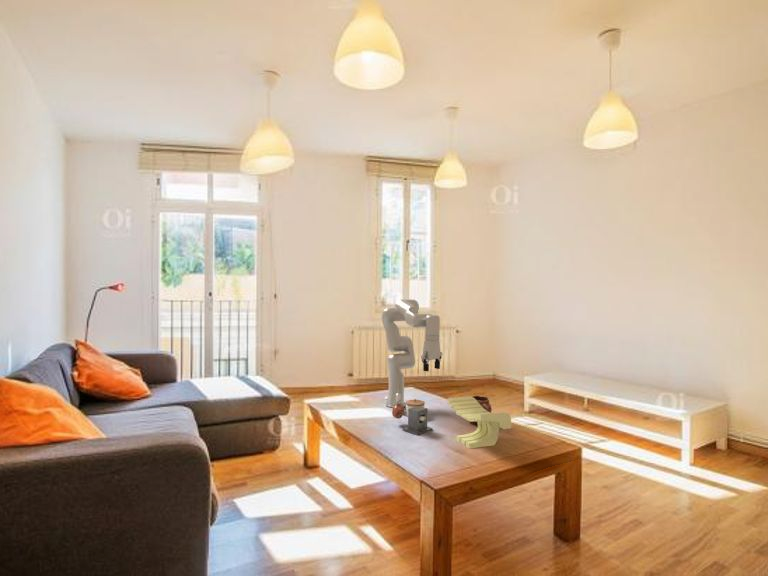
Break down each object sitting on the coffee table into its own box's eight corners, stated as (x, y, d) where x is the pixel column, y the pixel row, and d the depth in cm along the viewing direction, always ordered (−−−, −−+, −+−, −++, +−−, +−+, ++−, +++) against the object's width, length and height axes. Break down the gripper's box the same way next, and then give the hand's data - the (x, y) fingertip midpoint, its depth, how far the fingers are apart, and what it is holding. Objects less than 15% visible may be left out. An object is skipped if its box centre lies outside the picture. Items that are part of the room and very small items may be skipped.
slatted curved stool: (510, 450, 203) (511, 411, 203) (480, 455, 197) (480, 414, 197) (474, 430, 231) (475, 395, 231) (447, 433, 226) (447, 398, 225)
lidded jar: (421, 419, 248) (422, 402, 248) (403, 417, 252) (403, 400, 252) (426, 414, 258) (426, 397, 258) (408, 412, 262) (408, 396, 262)
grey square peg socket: (402, 430, 229) (402, 408, 229) (418, 425, 237) (418, 404, 237) (417, 435, 222) (417, 413, 222) (432, 430, 230) (433, 408, 230)
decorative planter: (499, 428, 234) (500, 401, 234) (479, 430, 230) (479, 403, 230) (479, 417, 253) (479, 392, 253) (460, 419, 249) (460, 394, 249)
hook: (391, 418, 238) (392, 394, 238) (400, 416, 243) (401, 392, 243) (419, 427, 224) (420, 401, 224) (428, 425, 229) (429, 399, 229)
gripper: (436, 336, 250) (435, 366, 250) (416, 338, 237) (415, 370, 238) (447, 337, 245) (446, 368, 245) (427, 340, 232) (427, 373, 233)
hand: (431, 369), depth 241 cm, fingers open, 9 cm apart
